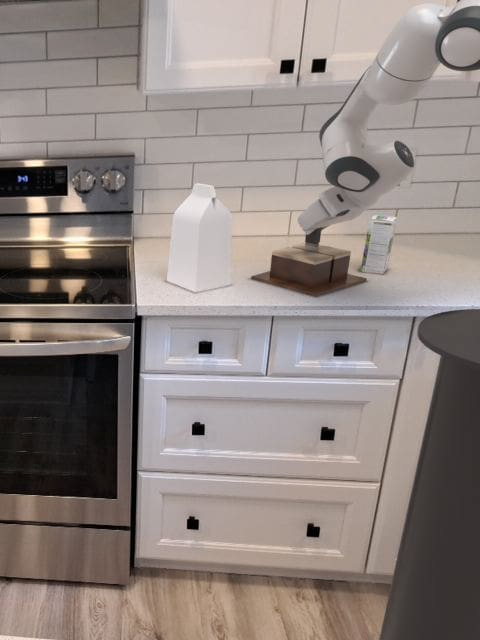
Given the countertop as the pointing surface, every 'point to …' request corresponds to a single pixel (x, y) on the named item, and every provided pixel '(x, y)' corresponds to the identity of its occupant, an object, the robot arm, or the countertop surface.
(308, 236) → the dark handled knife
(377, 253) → the syrup box
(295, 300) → the countertop surface
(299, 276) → the brown square slotted block
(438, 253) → the countertop surface
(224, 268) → the milk
